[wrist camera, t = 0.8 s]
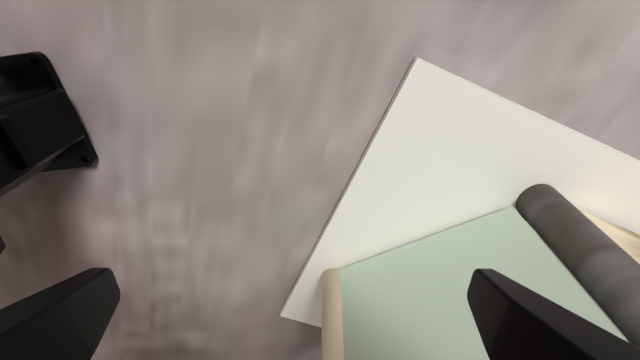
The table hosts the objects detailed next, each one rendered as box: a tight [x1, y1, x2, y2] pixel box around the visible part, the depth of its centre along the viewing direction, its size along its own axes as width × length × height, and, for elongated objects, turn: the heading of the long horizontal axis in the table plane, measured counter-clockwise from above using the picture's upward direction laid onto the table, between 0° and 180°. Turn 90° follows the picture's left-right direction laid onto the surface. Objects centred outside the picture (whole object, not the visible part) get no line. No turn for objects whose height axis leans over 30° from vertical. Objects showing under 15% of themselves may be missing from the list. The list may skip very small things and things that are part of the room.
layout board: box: [280, 57, 640, 340], centre depth 25 cm, size 27×21×1 cm
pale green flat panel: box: [321, 206, 626, 360], centre depth 18 cm, size 2×13×11 cm, turn 117°
